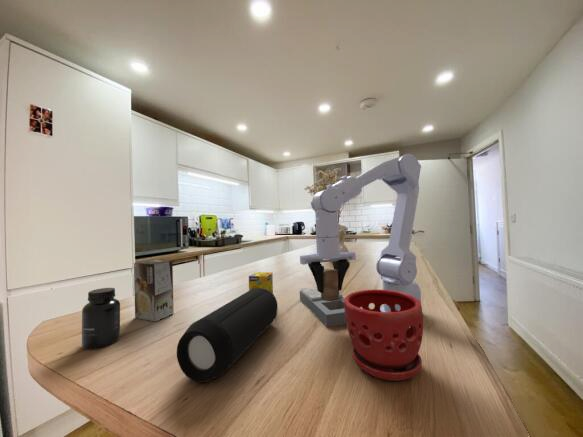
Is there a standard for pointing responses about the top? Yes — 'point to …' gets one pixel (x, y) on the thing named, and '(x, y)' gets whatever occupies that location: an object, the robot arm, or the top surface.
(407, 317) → the plant pot
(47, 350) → the top surface
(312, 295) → the sliding lid
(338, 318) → the socket plate
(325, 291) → the walnut peg
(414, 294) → the robot arm
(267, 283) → the supplement box
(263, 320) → the portable speaker
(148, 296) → the coffee box
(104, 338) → the supplement bottle
